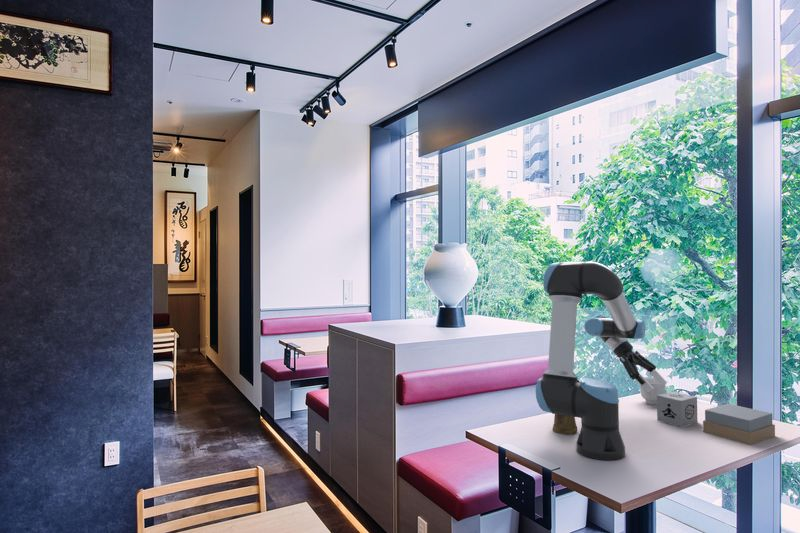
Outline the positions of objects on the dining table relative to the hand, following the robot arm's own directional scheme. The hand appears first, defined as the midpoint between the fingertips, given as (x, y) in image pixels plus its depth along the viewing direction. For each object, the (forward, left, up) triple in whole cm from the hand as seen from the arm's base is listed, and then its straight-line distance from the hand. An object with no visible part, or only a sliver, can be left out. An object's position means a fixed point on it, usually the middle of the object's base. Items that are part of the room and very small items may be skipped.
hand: (657, 387), depth 202 cm
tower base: (-2, -27, -12) cm, 30 cm away
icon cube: (+1, -7, -13) cm, 14 cm away
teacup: (+20, +9, -13) cm, 26 cm away
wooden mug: (-35, +22, -13) cm, 43 cm away
